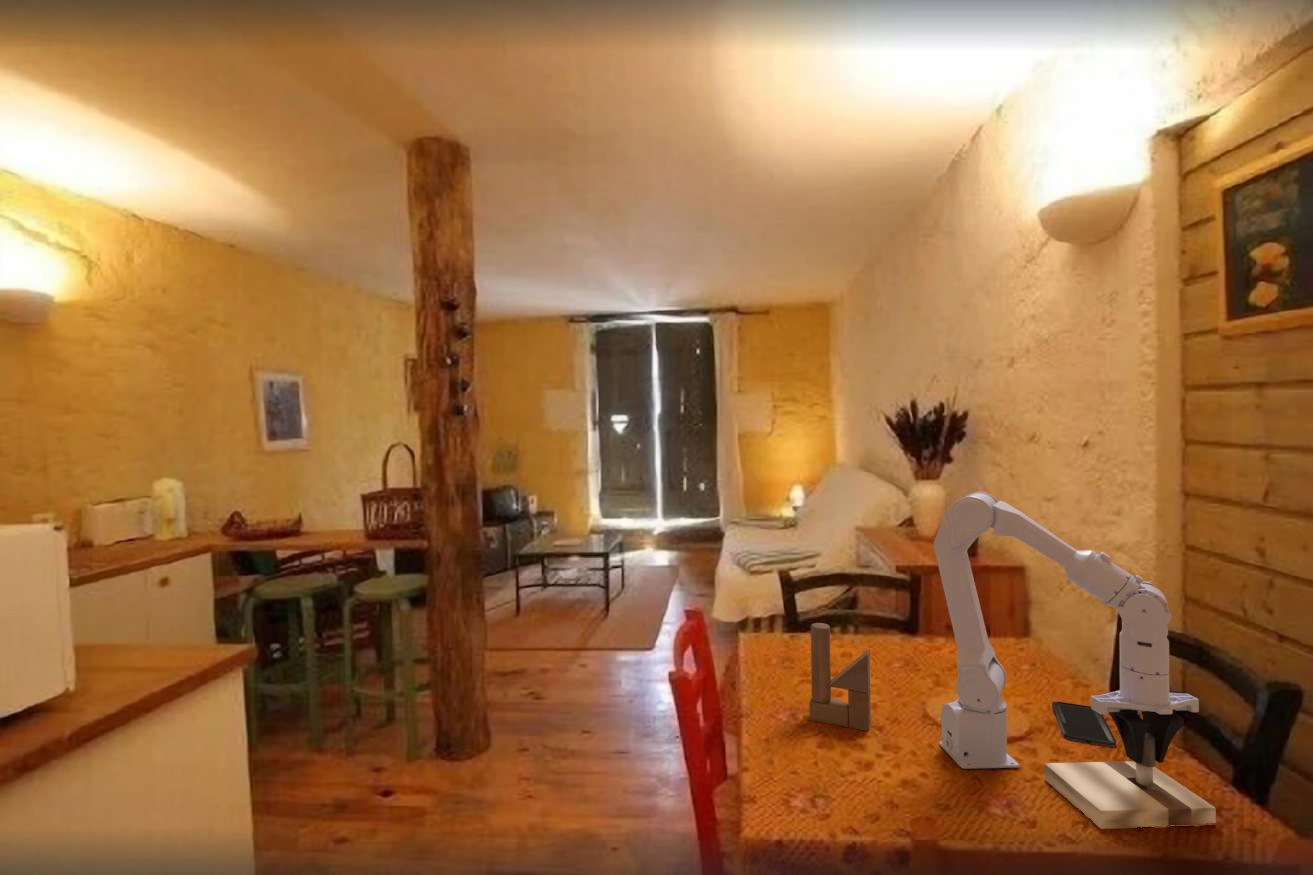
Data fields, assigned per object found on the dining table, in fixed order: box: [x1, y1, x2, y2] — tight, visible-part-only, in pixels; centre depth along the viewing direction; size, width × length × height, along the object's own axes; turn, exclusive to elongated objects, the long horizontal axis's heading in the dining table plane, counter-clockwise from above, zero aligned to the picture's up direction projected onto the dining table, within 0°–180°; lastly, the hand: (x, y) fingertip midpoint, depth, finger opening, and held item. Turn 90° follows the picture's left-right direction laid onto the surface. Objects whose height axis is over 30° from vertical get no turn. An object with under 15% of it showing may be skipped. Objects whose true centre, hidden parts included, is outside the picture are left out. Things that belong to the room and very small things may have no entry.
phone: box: [1051, 700, 1117, 748], centre depth 114 cm, size 8×1×15 cm
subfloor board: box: [1043, 760, 1217, 830], centre depth 90 cm, size 16×12×2 cm
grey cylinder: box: [1136, 732, 1157, 786], centre depth 90 cm, size 3×3×7 cm
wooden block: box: [808, 622, 872, 732], centre depth 116 cm, size 4×11×18 cm, turn 65°
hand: (1144, 759), depth 90 cm, fingers closed on grey cylinder, 3 cm apart
